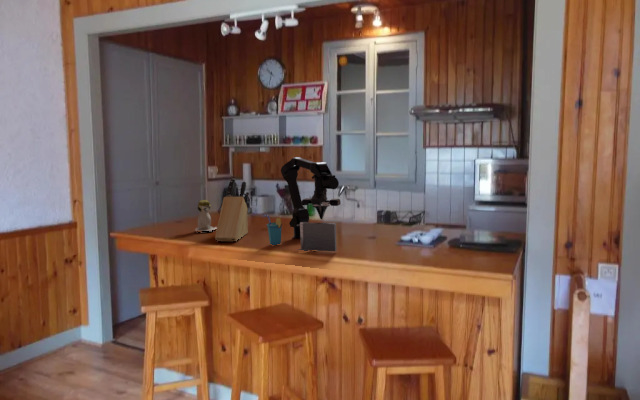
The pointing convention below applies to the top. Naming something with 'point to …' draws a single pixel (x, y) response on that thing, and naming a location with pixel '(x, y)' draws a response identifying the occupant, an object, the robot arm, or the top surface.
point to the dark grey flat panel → (318, 236)
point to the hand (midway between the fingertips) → (321, 219)
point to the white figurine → (204, 217)
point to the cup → (274, 231)
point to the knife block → (233, 214)
